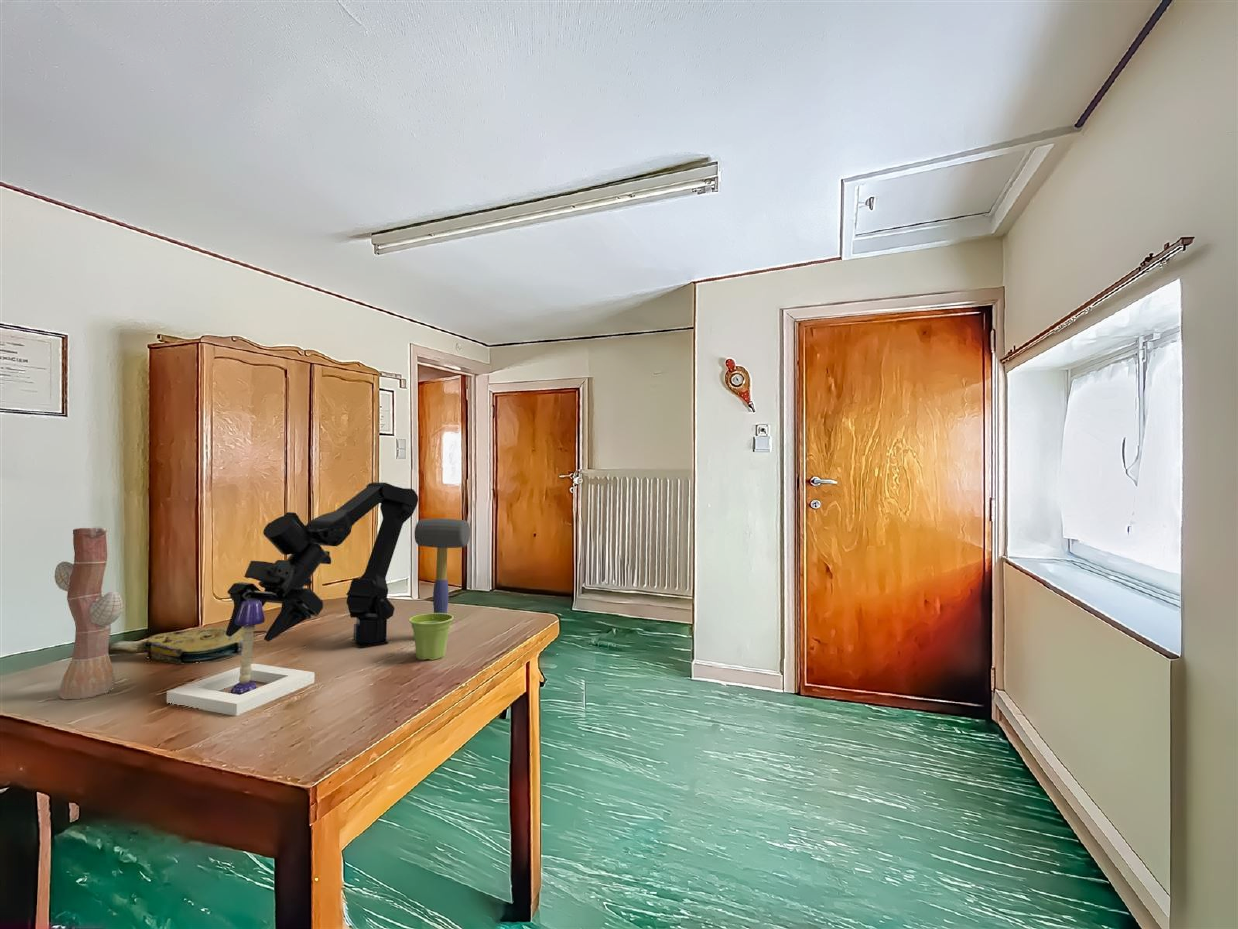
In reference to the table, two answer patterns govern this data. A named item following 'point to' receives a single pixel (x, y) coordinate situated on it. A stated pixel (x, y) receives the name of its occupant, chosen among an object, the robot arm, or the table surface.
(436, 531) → the rubber mallet
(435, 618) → the plant pot
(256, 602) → the toy lamp
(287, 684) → the cutout frame
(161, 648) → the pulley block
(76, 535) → the vase
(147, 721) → the table surface
